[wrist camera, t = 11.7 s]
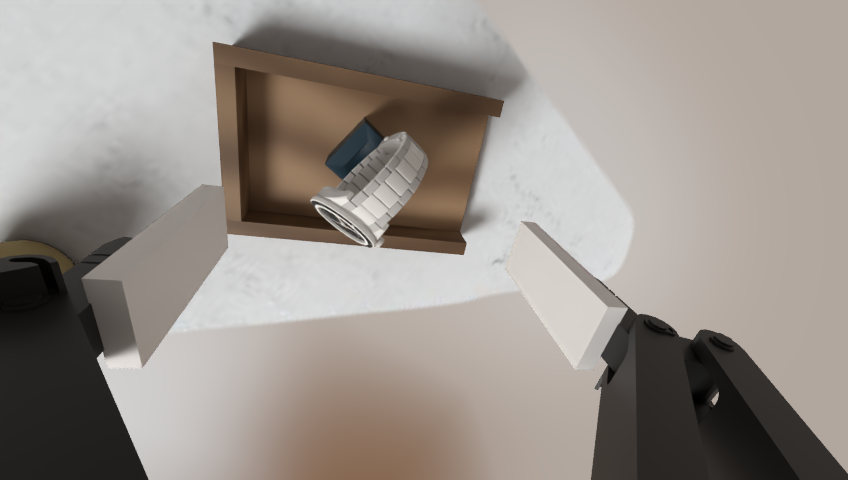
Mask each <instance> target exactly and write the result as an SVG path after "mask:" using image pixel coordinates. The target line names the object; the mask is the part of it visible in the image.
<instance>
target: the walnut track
mask: <svg viewBox="0 0 848 480" xmlns="http://www.w3.org/2000/svg"><path fill="white" fill-rule="evenodd" d="M213 53H214V69H215V84H216V100H217V115H218V130H219V146H220V161H221V177H222V187H224V197H225V211H226V225H227V234H235V235H246V236H257V237H268V238H280V239H291V240H302V241H313V242H324V243H336V244H347V245H358V246H364V245H362V244H360V243H358V242H356V241H354V240H353V239H351V238H350V237H348V236H347V235H345V234H344V233H342V232H341V231H339V230H338V229H337V228H336V227H334V226H333V225H332V224H331V223H329V222H328V221H327V220H326V219H325V218H324V217H323V216H322V215H321V214H320V213H319V212H318V211H317V210H316V209H315V208H314V207H313V205H312V203H311V201H310V200H311V199H312V197H314V196H316V195H317V194H318V192H319V191H320V190H321V189H322V188H323V187H325V186H332V187H335V188H336V187H337V186H338V185H339V184H340V183H341V182H342V181H343V180H342V179H340V178H339V177H338V176H337V175H336V174H335V173H334V172H333V171H332V170H330V169H329V168H328V167H327V166H326V165H325V162H326V159H327V157H328V155H329V154H330V153H331V152H332V151H333V150H334V149H335V147H336V146H337V145H338V144H339V143H340V142H341V141H342V140H343V139H344V138H345V137H346V136H347V135H348V134H349V133H350V132H351V131H352V130H353V129H354V128H355V127H356V126H357V124H358V123H359V122H360V121H361V120H362V119H363V118H364V117H365V118H366V119H367V120H368V121H369V122H370V123H371V124H372V125H373V126H374V127H375V128H376V129H377V130H378V131H379V132H380V133H381V134H382V135H383V136H384V138H385V137H387V136H388V137H389V136H391V135H393V134H396V133H399V132H406V133H407V134H408V135H409V136H410V137H411V138H412V139H413V140H414V141H415V142H416V143H417V144H418V145H419V146H420V147H421V149H422V150H423V151H424V152H425V153H426V155H427V158H428V166H427V169H426V172H425V174H424V177H423V178H422V180H421V181H420V184H419V186H418V188H417V189H416V191H415V192H414V193H413V194H412V196H411V197H410V199H409V200H408V201H407V203H406V204H405V205H404V206H403V205H402V204H401V205H402V206H403V207H402V208H401V209H400V210H399V212H398V213H397V214H396V215H395V216H394V217H392V218H391V219H390V220H389V221H388V222H387V224H388V225H389V227H388V228H387V229H386V231H385V232H384V233H383V234H382V236H381V237H382V238H383V239H384V243H383V244H382V245H381V246H380V248H392V249H403V250H414V251H425V252H437V253H448V254H459V255H464V251H465V248H466V244H467V243H466V242H465V240H464V238H463V237H462V235H461V233H460V228H461V224H462V220H463V216H464V212H465V208H466V204H467V200H468V196H469V192H470V188H471V184H472V180H473V176H474V172H475V168H476V164H477V160H478V156H479V152H480V148H481V144H482V140H483V136H484V132H485V128H486V124H487V120H488V116H489V115H490V116H495V117H500V115H501V111H502V107H503V103H504V101H502V100H497V99H492V98H487V97H482V96H477V95H472V94H468V93H463V92H458V91H453V90H448V89H443V88H438V87H433V86H428V85H423V84H418V83H414V82H409V81H404V80H399V79H394V78H389V77H384V76H379V75H374V74H369V73H364V72H359V71H355V70H350V69H345V68H340V67H335V66H330V65H325V64H320V63H315V62H310V61H305V60H301V59H296V58H291V57H286V56H281V55H276V54H271V53H266V52H261V51H256V50H251V49H246V48H242V47H237V46H232V45H227V44H222V43H217V42H213ZM397 195H398V194H397ZM398 196H399V195H398Z"/></svg>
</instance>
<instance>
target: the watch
mask: <svg viewBox="0 0 848 480" xmlns="http://www.w3.org/2000/svg"><path fill="white" fill-rule="evenodd" d="M325 165H326V166H327V167H328V168H329V169H330V170H332V171H333V172H334V173H335V174H336V175H337V176H338V177H339V178H340V179H342V180H343V181H342V182H341V183H340V184H339V185H338V186H337V187H336V188H335V187H332V186H325V187H323V188H322V189H321V190H320V191H319V192H318V194H317V195H316V196H314V197H312V199H311V200H310V201H311V203H312V205H313V207H314V208H315V209H316V210H317V211H318V212H319V213H320V214H321V215H322V216H323V217H324V218H325V219H326V220H327V221H328V222H329V223H331V224H332V225H333V226H334V227H336V228H337V229H338V230H339V231H341V232H342V233H344V234H345V235H347V236H348V237H350V238H351V239H353V240H354V241H356V242H358V243H360V244H362V245H364V246H366V247H369V248H374V247H376V248H379V247H380V246H381V245H382V244H383V243H384V239H383V238H382V237H381V236H382V234H383V233H384V232H385V231H386V229H387V228H388V227H389V225H388V224H387V222H388V221H389V220H390V219H391V218H392V217H394V216H395V215H396V214H397V213H398V212H399V210H400V209H401V208H402V207H403V206H404V205H405V204H406V203H407V201H408V200H409V199H410V197H411V196H412V194H413V193H414V192H415V191H416V189H417V188H418V186H419V184H420V181H421V180H422V178H423V177H424V174H425V172H426V169H427V166H428V158H427V155H426V153H425V152H424V151H423V150H422V149H421V147H420V146H419V145H418V144H417V143H416V142H415V141H414V140H413V139H412V138H411V137H410V136H409V135H408V134H407V133H406V132H399V133H396V134H393V135H391V136H389V137H388V136H387V137H385V138H384V136H383V135H382V134H381V133H380V132H379V131H378V130H377V129H376V128H375V127H374V126H373V125H372V124H371V123H370V122H369V121H368V120H367V119H366V118H365V117H364V118H363V119H362V120H361V121H360V122H359V123H358V124H357V126H356V127H355V128H354V129H353V130H352V131H351V132H350V133H349V134H348V135H347V136H346V137H345V138H344V139H343V140H342V141H341V142H340V143H339V144H338V145H337V146H336V147H335V149H334V150H333V151H332V152H331V153H330V154H329V155H328V157H327V159H326V162H325ZM397 194H398V195H399V196H398V195H397ZM401 204H402V205H403V206H402V205H401Z"/></svg>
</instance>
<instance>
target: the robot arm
mask: <svg viewBox="0 0 848 480" xmlns="http://www.w3.org/2000/svg"><path fill="white" fill-rule="evenodd" d="M227 248H228V239H227V225H226V211H225V197H224V187H220V186H212V185H203V184H202V185H201V186H200V187H198V188H197V189H196V190H194V191H193V192H192V193H191V194H189V195H188V196H187V197H185V198H184V199H183V200H182V201H180V202H179V203H178V204H176V205H175V206H174V207H173V208H171V209H170V210H169V211H167V212H166V213H165V214H164V215H162V216H161V217H160V218H158V219H157V220H156V221H155V222H153V223H152V224H151V225H149V226H148V227H147V228H146V229H144V230H143V231H142V232H140V233H139V234H138V235H137V236H135V237H134V238H129V237H122V238H119V239H117V240H114V241H111V242H109V243H106V244H104V245H103V246H101V247H100V248H98V249H97V250H96V251H94V252H93V253H91V255H89V256H87V257H86V258H84V259H83V260H82V261H81V263H77V264H76V265H75V266H73V267H72V268H70V269H69V270H68V271H66V272H65V273H63V274H62V272H61V269H60V266H59V263H58V261H57V260H56V259H54V258H53V257H50V256H45V255H31V254H26V255H17V256H8V257H4V258H0V480H148V477H147V475H146V473H145V470H144V468H143V466H142V464H141V461H140V459H139V456H138V454H137V452H136V450H135V447H134V445H133V443H132V440H131V438H130V435H129V433H128V431H127V428H126V426H125V424H124V422H123V419H122V417H121V414H120V412H119V410H118V407H117V405H116V403H115V401H114V398H113V396H112V394H111V391H110V389H109V387H108V384H107V382H106V380H105V377H104V375H103V373H102V370H101V368H100V366H99V363H98V361H97V359H96V358H97V357H98V356H99V355H100V354H101V353H102V352H103V353H104V357H105V360H106V363H107V367H108V368H143V366H144V365H145V364H146V362H147V361H148V359H149V358H150V357H151V355H152V354H153V352H154V351H155V350H156V348H157V347H158V345H159V344H160V343H161V341H162V340H163V338H164V337H165V336H166V334H167V333H168V331H169V330H170V329H171V327H172V326H173V324H174V323H175V321H176V320H177V319H178V317H179V316H180V314H181V313H182V312H183V310H184V309H185V307H186V306H187V305H188V303H189V302H190V300H191V299H192V298H193V296H194V295H195V293H196V292H197V291H198V289H199V288H200V286H201V285H202V283H203V282H204V281H205V279H206V278H207V276H208V275H209V274H210V272H211V271H212V269H213V268H214V267H215V265H216V264H217V262H218V261H219V260H220V258H221V257H222V255H223V254H224V252H225V251H226V250H227ZM505 270H506V271H507V273H508V274H509V276H510V277H511V279H512V280H513V281H514V283H515V284H516V286H517V287H518V289H519V290H520V291H521V293H522V294H523V296H524V297H525V299H526V300H527V301H528V303H529V304H530V306H531V307H532V309H533V310H534V311H535V313H536V314H537V316H538V317H539V319H540V320H541V321H542V323H543V324H544V326H545V327H546V328H547V330H548V331H549V333H550V334H551V336H552V337H553V339H554V340H555V341H556V343H557V344H558V346H559V347H560V349H561V350H562V351H563V353H564V354H565V356H566V357H567V359H568V360H569V361H570V363H571V364H572V366H573V367H574V369H575V370H594V369H595V367H596V365H597V363H598V361H599V359H600V358H601V357H602V358H603V359H604V360H605V361H606V363H607V364H608V366H607V367H606V369H605V371H604V373H603V374H602V376H601V378H600V379H599V381H598V383H597V385H596V386H595V389H597V390H598V389H599V387H602V389H601V397H600V405H599V414H598V423H597V432H596V440H595V449H594V458H593V468H592V476H591V480H848V474H847V473H846V471H845V470H844V469H843V468H842V466H841V465H840V464H839V463H838V462H837V460H836V459H835V458H834V457H833V456H832V454H831V453H830V452H829V451H828V450H827V449H826V448H825V446H824V445H823V444H822V443H821V441H820V440H819V439H818V438H817V437H816V435H815V434H814V433H813V432H812V431H811V430H810V428H809V427H808V426H807V425H806V423H805V422H804V421H803V420H802V419H801V418H800V416H799V415H798V414H797V413H796V411H795V410H794V409H793V408H792V407H791V405H790V404H789V403H788V402H787V401H786V400H785V399H784V397H783V396H782V395H781V394H780V393H779V391H778V390H777V389H776V388H775V386H774V385H773V384H772V383H771V382H770V380H769V379H768V378H767V377H766V376H765V375H764V373H763V372H762V371H761V370H760V368H759V367H758V366H757V365H756V364H755V363H754V361H753V360H752V359H751V358H750V357H749V355H748V354H747V353H746V352H745V351H744V350H743V349H742V348H741V347H740V346H739V345H738V344H737V343H735V342H734V341H732V339H731V338H729V337H727V336H725V335H723V334H721V333H716V332H713V331H710V330H700V331H699V332H698V334H697V335H696V337H695V338H694V339H693V340H690V339H687V338H682V337H679V335H678V334H677V332H676V331H675V330H674V329H673V328H672V327H671V326H670V325H668V324H666V323H665V322H664V321H662V320H659V319H658V318H656V317H652V316H649V315H645V314H644V315H643V314H639V315H637V314H636V313H635V312H634V311H633V310H632V309H631V308H630V307H628V306H627V305H626V304H625V303H624V302H623V301H622V300H621V299H620V298H618V297H617V296H615V294H614V293H613V292H612V291H611V290H608V287H606V286H605V285H604V284H603V283H602V282H601V281H600V280H598V279H597V278H595V277H594V276H593V275H591V274H590V273H589V272H588V271H587V270H586V269H585V268H584V267H583V266H582V265H581V264H579V263H578V262H577V261H576V260H575V259H574V258H573V257H572V256H571V255H570V254H569V253H567V252H566V251H565V250H564V249H563V248H562V247H561V246H560V245H559V244H558V243H557V242H556V241H554V240H553V239H552V238H551V237H550V236H549V235H548V234H547V233H546V232H545V231H544V230H542V229H541V228H540V227H539V226H538V225H537V224H536V223H532V222H524V221H521V223H520V226H519V229H518V232H517V235H516V238H515V241H514V244H513V247H512V250H511V253H510V256H509V258H508V261H507V264H506V267H505ZM718 392H719V397H718V401H717V403H716V404H715V405H713V403H712V401H711V400H712V399H713V398H714V397H715V395H716V394H717V393H718Z"/></svg>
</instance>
